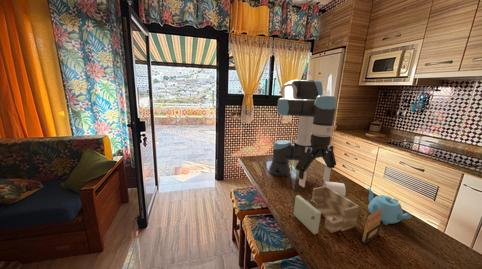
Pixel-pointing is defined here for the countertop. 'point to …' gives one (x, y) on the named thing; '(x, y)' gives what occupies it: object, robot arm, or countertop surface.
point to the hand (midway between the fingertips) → (314, 183)
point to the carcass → (334, 209)
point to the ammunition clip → (372, 226)
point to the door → (307, 214)
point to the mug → (336, 187)
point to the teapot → (387, 208)
